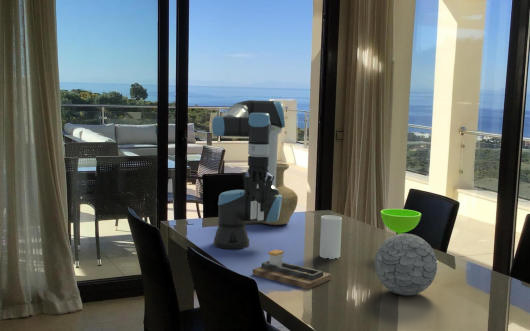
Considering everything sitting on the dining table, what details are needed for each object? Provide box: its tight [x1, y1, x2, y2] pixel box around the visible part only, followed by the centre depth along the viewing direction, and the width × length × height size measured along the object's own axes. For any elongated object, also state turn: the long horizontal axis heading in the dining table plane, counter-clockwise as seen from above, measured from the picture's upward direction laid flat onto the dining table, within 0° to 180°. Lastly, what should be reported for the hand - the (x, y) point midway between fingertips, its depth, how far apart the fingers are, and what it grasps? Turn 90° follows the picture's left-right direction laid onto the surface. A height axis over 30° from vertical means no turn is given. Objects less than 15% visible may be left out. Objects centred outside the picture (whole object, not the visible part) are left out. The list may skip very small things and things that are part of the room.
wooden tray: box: [252, 260, 332, 290], centre depth 206 cm, size 24×14×4 cm, turn 53°
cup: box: [319, 214, 343, 260], centre depth 234 cm, size 8×8×16 cm
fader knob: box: [268, 249, 285, 267], centre depth 210 cm, size 3×5×6 cm
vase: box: [261, 162, 299, 226], centre depth 290 cm, size 22×22×30 cm
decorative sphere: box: [374, 232, 438, 296], centre depth 190 cm, size 20×20×20 cm
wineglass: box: [380, 208, 422, 235], centre depth 236 cm, size 16×16×18 cm
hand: (257, 219), depth 214 cm, fingers open, 3 cm apart
